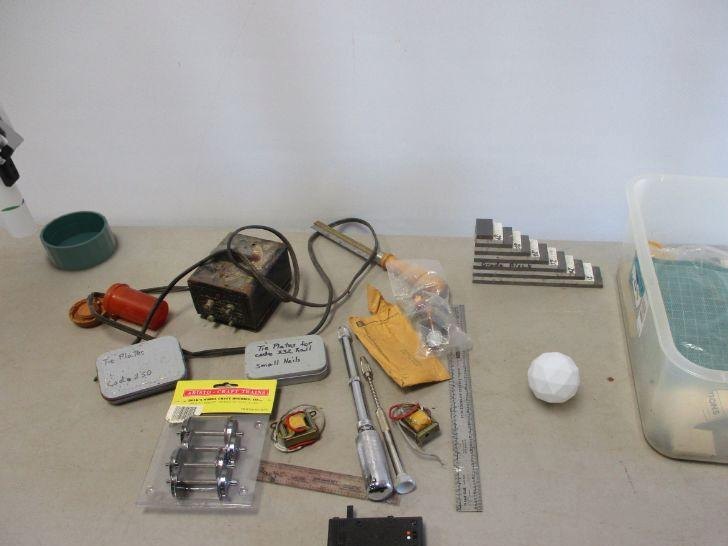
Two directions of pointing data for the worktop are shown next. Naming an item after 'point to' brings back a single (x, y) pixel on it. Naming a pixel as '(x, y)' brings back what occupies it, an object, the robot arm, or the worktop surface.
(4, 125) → the robot arm
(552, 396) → the ball
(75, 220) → the bowl
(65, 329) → the worktop surface
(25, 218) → the tube
